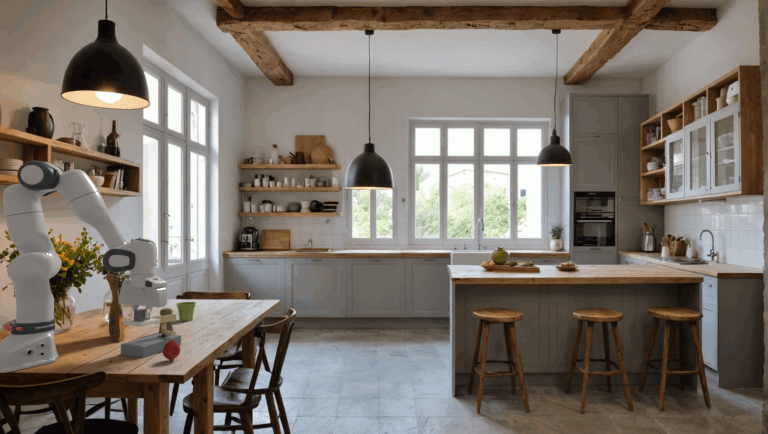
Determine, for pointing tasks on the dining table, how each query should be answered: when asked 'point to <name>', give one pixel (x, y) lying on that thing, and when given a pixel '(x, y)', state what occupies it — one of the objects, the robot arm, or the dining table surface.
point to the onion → (171, 350)
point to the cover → (140, 319)
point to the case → (148, 345)
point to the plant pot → (186, 310)
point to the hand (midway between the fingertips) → (141, 317)
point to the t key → (163, 320)
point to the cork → (168, 324)
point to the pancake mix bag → (115, 312)
